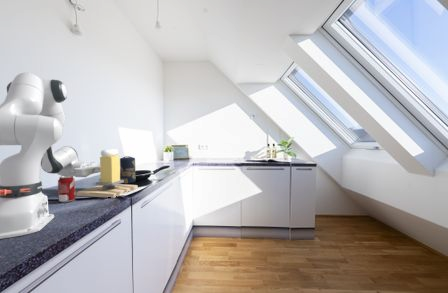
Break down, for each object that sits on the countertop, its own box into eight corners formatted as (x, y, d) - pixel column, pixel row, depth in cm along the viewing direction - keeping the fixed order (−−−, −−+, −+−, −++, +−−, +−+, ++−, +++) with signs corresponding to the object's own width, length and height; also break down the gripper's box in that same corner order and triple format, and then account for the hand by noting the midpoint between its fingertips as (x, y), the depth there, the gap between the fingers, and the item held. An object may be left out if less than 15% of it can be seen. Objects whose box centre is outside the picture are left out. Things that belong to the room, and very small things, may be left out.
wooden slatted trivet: (113, 197, 119) (113, 189, 119) (76, 195, 124) (76, 187, 123) (137, 188, 141) (137, 181, 141) (105, 186, 145) (105, 180, 145)
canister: (132, 184, 153) (131, 156, 152) (117, 184, 153) (117, 156, 152) (137, 181, 163) (137, 155, 162) (124, 181, 163) (123, 155, 162)
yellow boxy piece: (112, 185, 126) (111, 150, 125) (95, 184, 128) (94, 150, 127) (123, 182, 136) (123, 149, 135) (108, 181, 138) (107, 149, 137)
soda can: (67, 203, 109) (66, 177, 109) (54, 202, 111) (54, 177, 110) (78, 199, 116) (78, 175, 115) (67, 199, 117) (66, 175, 117)
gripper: (67, 166, 125) (90, 167, 122) (95, 162, 145) (115, 162, 142) (67, 178, 125) (90, 179, 122) (95, 172, 145) (115, 172, 142)
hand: (104, 170), depth 132 cm, fingers closed
